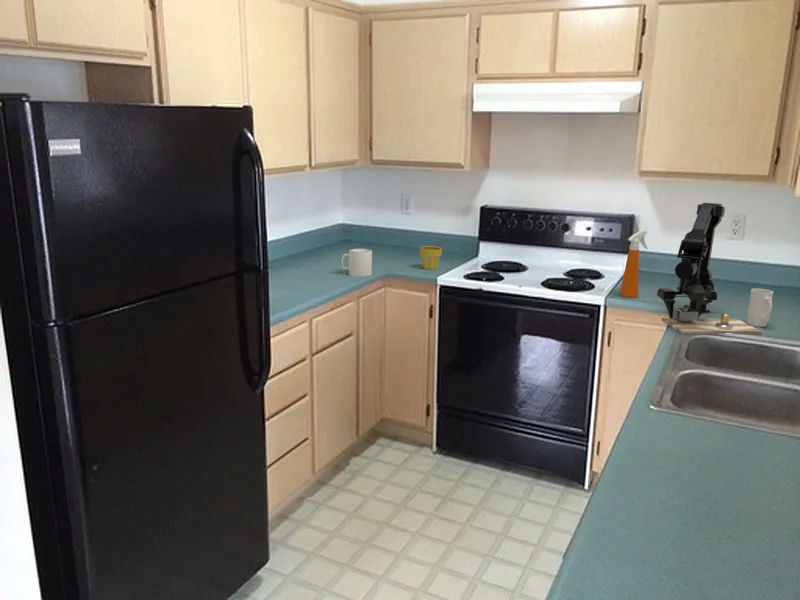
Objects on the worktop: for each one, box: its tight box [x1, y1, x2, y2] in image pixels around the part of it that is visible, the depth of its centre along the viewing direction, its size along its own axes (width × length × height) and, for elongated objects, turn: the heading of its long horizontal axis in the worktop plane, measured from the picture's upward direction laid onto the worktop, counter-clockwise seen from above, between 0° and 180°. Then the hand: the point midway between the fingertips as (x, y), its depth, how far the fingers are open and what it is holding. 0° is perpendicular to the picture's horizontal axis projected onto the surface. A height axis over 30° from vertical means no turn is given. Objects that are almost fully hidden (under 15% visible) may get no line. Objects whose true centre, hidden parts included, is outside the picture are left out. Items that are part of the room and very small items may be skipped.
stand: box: [677, 304, 690, 322], centre depth 227 cm, size 4×4×6 cm
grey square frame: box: [672, 306, 698, 320], centre depth 227 cm, size 6×6×3 cm
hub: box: [715, 313, 733, 330], centre depth 219 cm, size 5×5×4 cm
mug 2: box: [746, 288, 774, 328], centre depth 225 cm, size 10×7×12 cm, turn 1°
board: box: [661, 317, 762, 335], centre depth 223 cm, size 15×27×1 cm, turn 93°
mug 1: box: [340, 248, 373, 277], centre depth 292 cm, size 14×10×11 cm
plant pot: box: [419, 245, 443, 270], centre depth 308 cm, size 10×10×10 cm
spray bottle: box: [619, 229, 649, 299], centre depth 263 cm, size 7×11×26 cm, turn 117°
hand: (683, 318), depth 227 cm, fingers open, 9 cm apart
